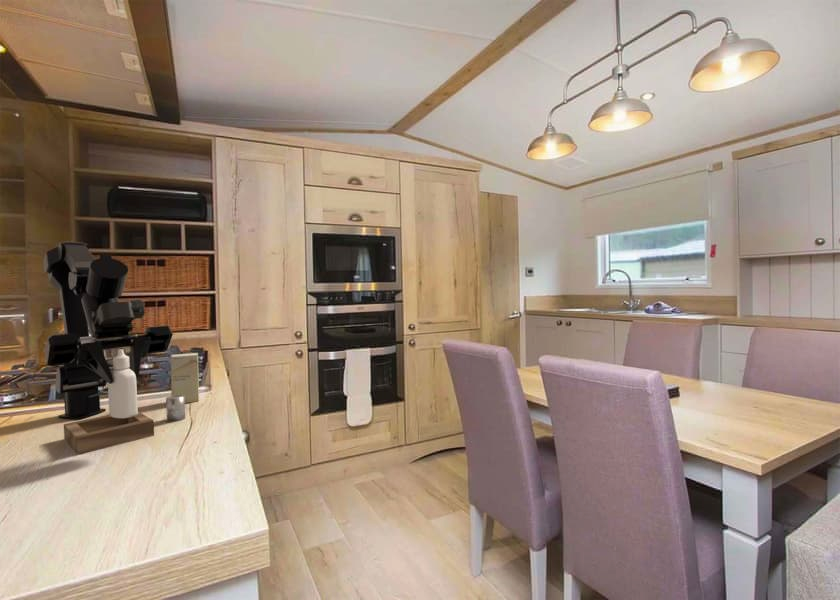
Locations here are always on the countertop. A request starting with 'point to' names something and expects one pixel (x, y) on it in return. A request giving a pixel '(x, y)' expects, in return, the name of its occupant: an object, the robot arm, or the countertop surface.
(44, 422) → the countertop surface
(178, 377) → the skincare box
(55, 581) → the countertop surface
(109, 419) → the socket block
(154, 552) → the countertop surface
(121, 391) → the eye dropper bottle
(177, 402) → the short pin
